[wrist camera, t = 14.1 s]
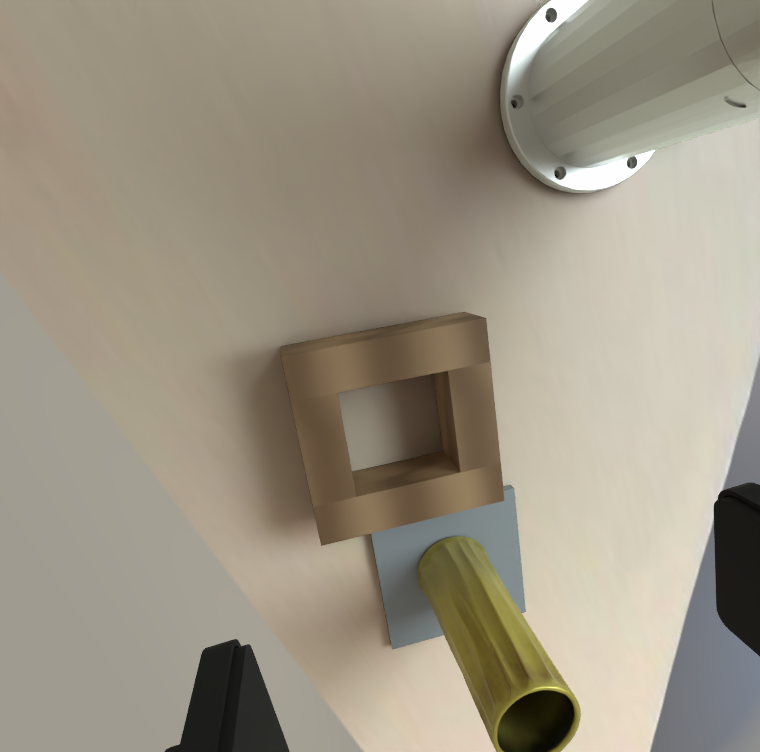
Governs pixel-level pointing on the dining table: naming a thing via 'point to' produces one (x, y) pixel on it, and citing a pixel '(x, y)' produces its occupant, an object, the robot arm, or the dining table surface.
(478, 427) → the collar
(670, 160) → the dining table surface
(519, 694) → the vase
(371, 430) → the dining table surface
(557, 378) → the dining table surface
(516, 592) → the mat
